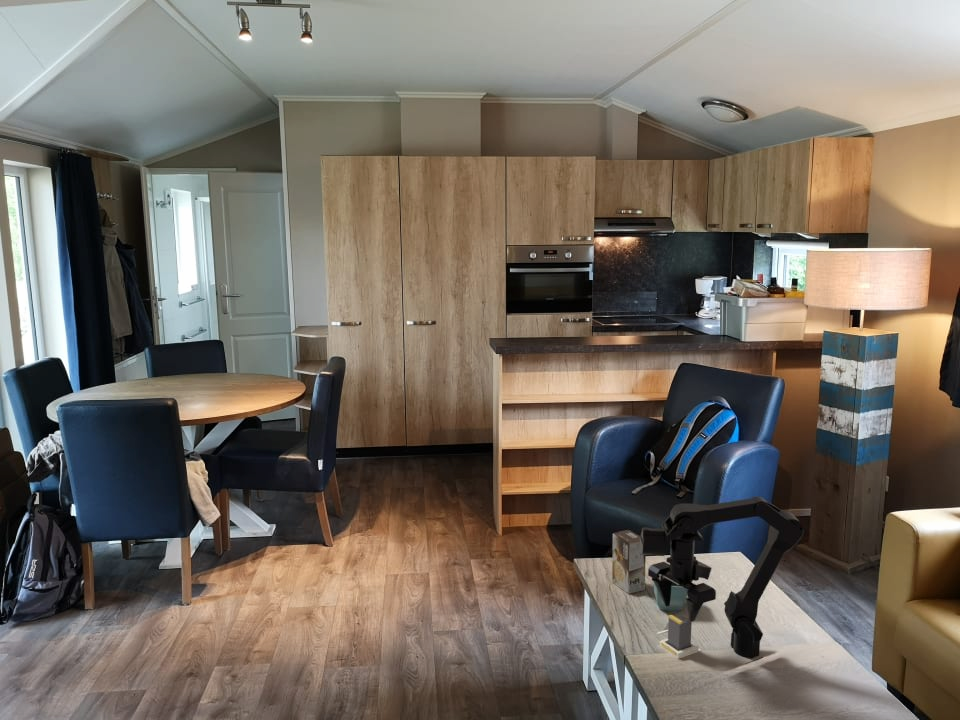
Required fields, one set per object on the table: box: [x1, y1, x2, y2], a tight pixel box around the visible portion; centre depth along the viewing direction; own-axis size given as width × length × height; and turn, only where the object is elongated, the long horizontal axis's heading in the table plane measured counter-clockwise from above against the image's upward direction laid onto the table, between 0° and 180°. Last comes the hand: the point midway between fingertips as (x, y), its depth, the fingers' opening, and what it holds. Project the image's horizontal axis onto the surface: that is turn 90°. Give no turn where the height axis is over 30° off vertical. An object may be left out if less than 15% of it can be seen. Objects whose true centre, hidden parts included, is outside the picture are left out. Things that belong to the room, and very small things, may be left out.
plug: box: [667, 613, 692, 651], centre depth 194 cm, size 4×4×9 cm
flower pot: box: [652, 581, 688, 612], centre depth 218 cm, size 9×9×9 cm
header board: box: [656, 629, 702, 659], centre depth 198 cm, size 13×11×2 cm
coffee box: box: [611, 529, 647, 595], centre depth 231 cm, size 9×6×16 cm
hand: (679, 613), depth 193 cm, fingers open, 9 cm apart
